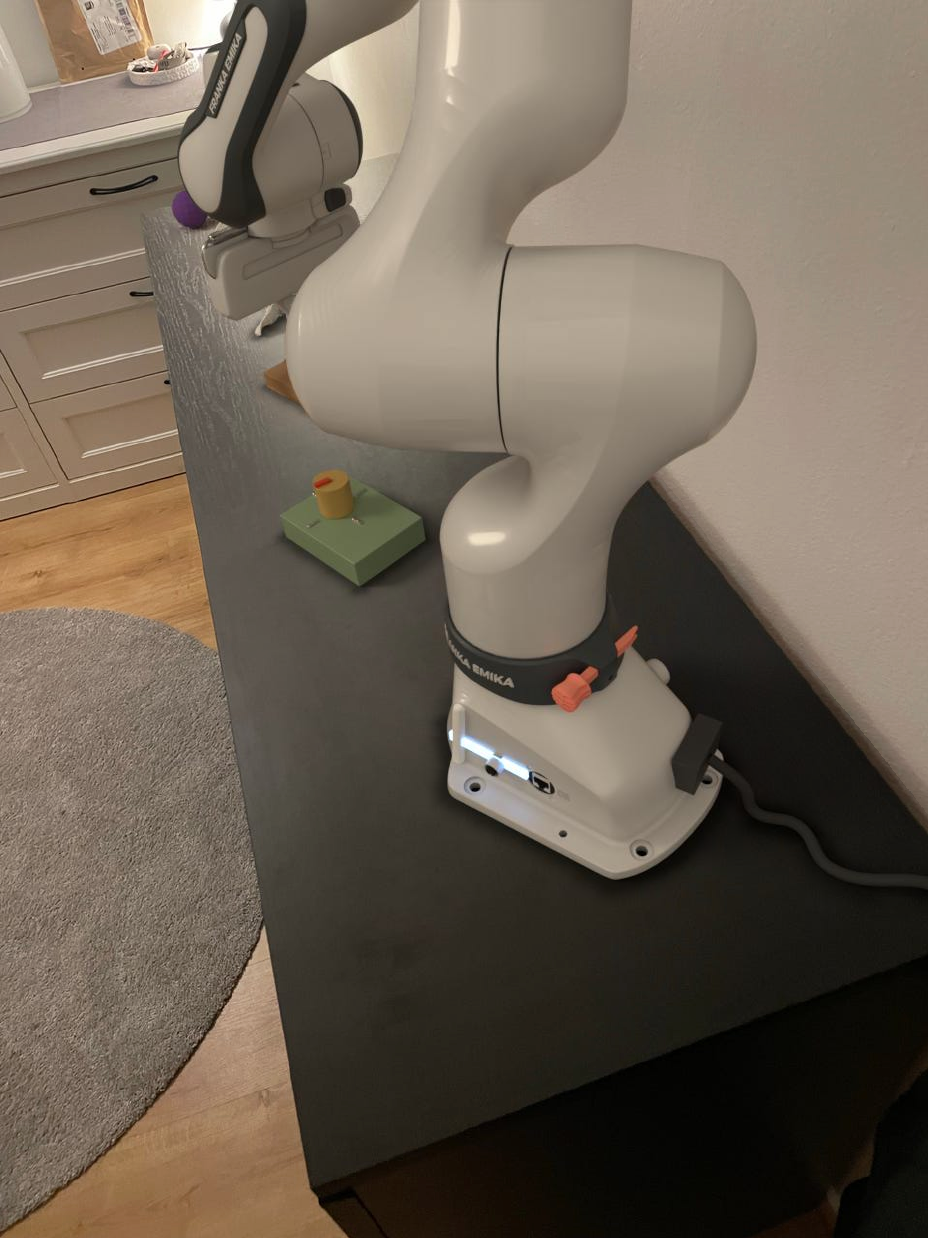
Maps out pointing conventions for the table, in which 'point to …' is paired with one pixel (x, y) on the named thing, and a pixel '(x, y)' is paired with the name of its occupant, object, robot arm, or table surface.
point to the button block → (280, 381)
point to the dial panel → (356, 533)
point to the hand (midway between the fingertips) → (302, 324)
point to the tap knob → (333, 494)
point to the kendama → (187, 211)
